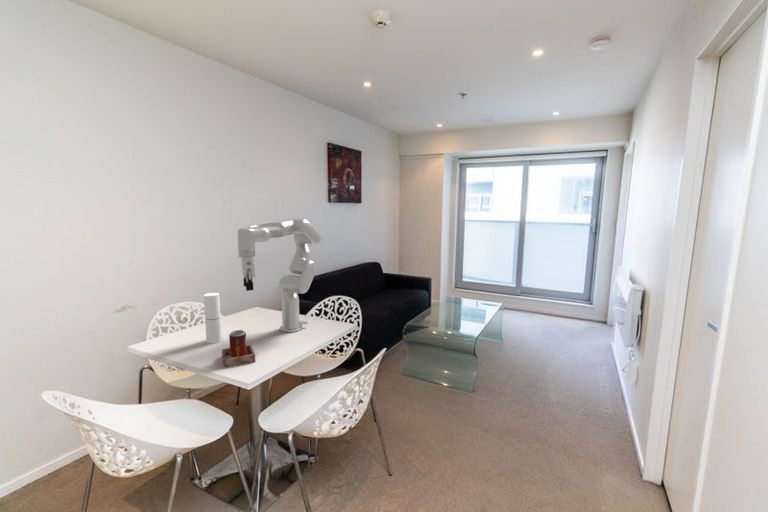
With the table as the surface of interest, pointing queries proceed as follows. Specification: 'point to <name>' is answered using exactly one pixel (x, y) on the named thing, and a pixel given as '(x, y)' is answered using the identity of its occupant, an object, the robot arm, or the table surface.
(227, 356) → the tray
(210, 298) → the cylindrical container
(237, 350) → the soda can
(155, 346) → the table surface
